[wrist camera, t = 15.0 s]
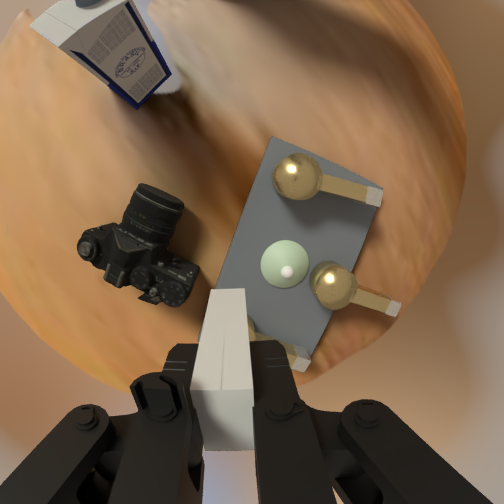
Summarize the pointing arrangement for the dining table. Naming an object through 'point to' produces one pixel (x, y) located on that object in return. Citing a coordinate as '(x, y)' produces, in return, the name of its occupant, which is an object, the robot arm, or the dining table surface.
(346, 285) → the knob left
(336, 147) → the dining table surface
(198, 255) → the dining table surface
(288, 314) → the level plate
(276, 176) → the knob
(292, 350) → the knob
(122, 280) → the camera
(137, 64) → the milk carton
